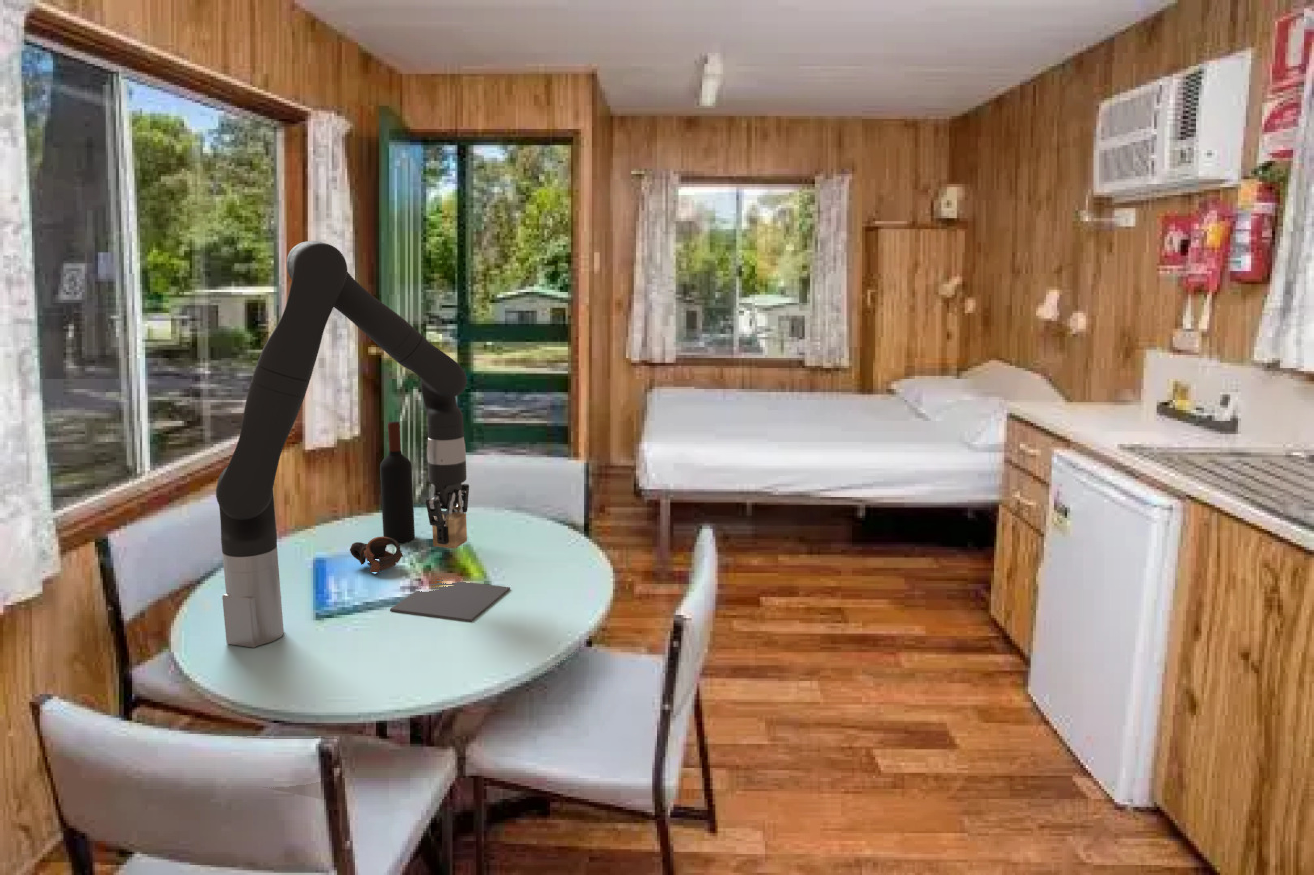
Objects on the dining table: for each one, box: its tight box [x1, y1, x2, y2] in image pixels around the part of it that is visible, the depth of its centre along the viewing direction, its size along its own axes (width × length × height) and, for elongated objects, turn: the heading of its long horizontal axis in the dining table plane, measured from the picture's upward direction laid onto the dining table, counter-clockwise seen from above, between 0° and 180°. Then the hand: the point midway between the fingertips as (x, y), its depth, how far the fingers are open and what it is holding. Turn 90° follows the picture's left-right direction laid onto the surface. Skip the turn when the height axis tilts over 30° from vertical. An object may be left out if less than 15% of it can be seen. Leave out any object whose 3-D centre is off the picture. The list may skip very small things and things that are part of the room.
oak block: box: [431, 512, 468, 549], centre depth 184 cm, size 5×5×6 cm
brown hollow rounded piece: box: [349, 536, 404, 573], centre depth 204 cm, size 12×10×8 cm
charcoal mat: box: [389, 580, 511, 622], centre depth 187 cm, size 18×18×1 cm
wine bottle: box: [379, 420, 416, 545], centre depth 222 cm, size 8×8×30 cm
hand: (450, 539), depth 184 cm, fingers closed on oak block, 5 cm apart
